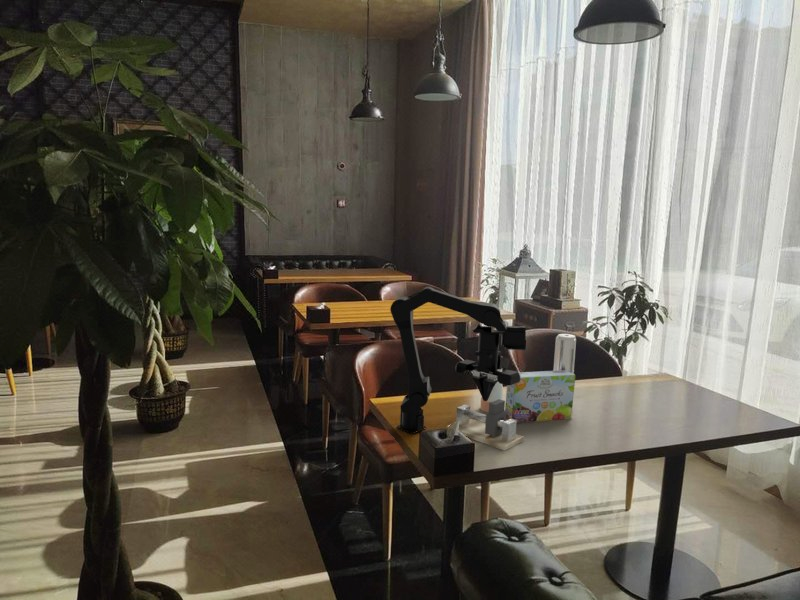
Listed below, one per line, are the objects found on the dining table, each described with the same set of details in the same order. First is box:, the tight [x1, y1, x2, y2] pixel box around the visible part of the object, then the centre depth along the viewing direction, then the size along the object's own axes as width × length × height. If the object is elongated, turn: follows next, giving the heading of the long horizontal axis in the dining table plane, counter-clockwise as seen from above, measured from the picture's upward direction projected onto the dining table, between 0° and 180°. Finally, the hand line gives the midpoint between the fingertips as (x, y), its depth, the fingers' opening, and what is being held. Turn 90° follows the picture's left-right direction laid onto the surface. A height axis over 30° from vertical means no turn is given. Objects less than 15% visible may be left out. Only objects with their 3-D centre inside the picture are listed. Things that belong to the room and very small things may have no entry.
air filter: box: [552, 333, 577, 374], centre depth 188 cm, size 6×6×25 cm
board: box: [446, 418, 525, 452], centre depth 164 cm, size 20×10×1 cm, turn 47°
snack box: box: [504, 370, 576, 424], centre depth 178 cm, size 21×6×15 cm, turn 106°
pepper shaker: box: [480, 355, 504, 413], centre depth 184 cm, size 7×7×19 cm
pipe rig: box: [455, 404, 518, 442], centre depth 163 cm, size 18×4×5 cm, turn 47°
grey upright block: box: [484, 399, 507, 436], centre depth 161 cm, size 3×6×9 cm, turn 137°
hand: (485, 400), depth 163 cm, fingers closed
